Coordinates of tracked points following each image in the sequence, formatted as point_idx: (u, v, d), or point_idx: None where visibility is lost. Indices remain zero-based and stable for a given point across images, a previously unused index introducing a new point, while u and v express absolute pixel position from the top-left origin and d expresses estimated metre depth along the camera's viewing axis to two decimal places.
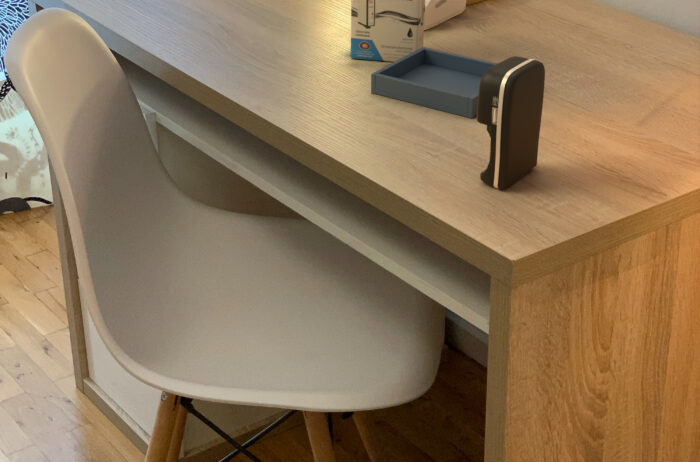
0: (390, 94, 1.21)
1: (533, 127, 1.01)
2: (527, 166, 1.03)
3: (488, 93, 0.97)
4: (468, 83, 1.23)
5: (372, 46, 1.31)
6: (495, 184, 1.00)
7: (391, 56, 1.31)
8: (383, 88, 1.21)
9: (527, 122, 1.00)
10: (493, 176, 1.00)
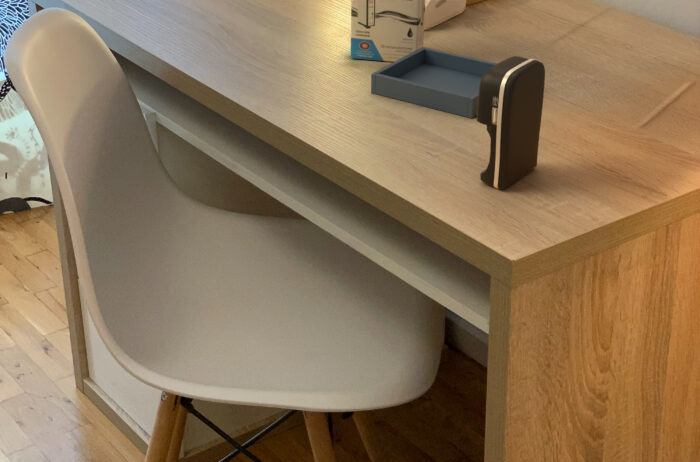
0: (390, 94, 1.21)
1: (533, 127, 1.01)
2: (527, 166, 1.03)
3: (488, 93, 0.97)
4: (468, 83, 1.23)
5: (372, 46, 1.31)
6: (495, 184, 1.00)
7: (391, 56, 1.31)
8: (383, 88, 1.21)
9: (527, 122, 1.00)
10: (493, 176, 1.00)
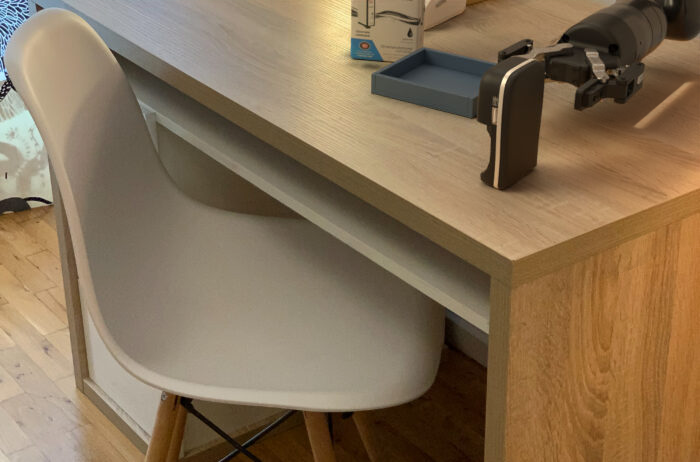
0: (390, 94, 1.21)
1: (533, 127, 1.01)
2: (527, 166, 1.03)
3: (488, 93, 0.97)
4: (468, 83, 1.23)
5: (373, 46, 1.31)
6: (495, 184, 1.00)
7: (391, 56, 1.31)
8: (383, 88, 1.21)
9: (527, 122, 1.00)
10: (493, 176, 1.00)
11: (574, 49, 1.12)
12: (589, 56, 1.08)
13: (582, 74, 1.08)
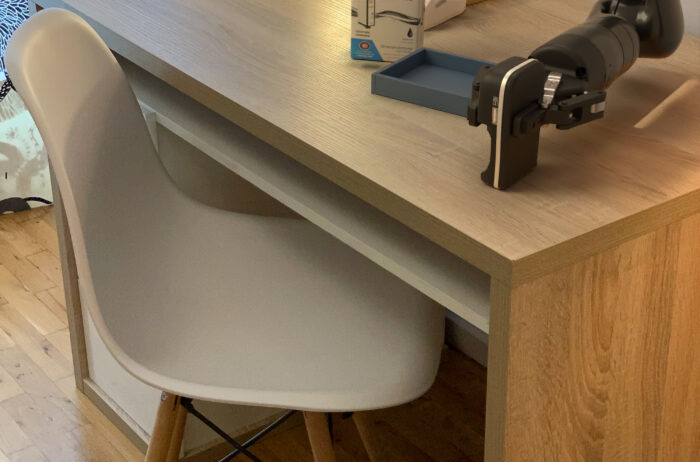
0: (390, 94, 1.21)
1: None
2: (527, 166, 1.03)
3: (489, 93, 0.97)
4: (468, 83, 1.23)
5: (373, 46, 1.31)
6: (495, 184, 1.00)
7: (391, 56, 1.31)
8: (383, 88, 1.21)
9: None
10: (493, 176, 1.00)
11: None
12: (549, 79, 1.03)
13: None
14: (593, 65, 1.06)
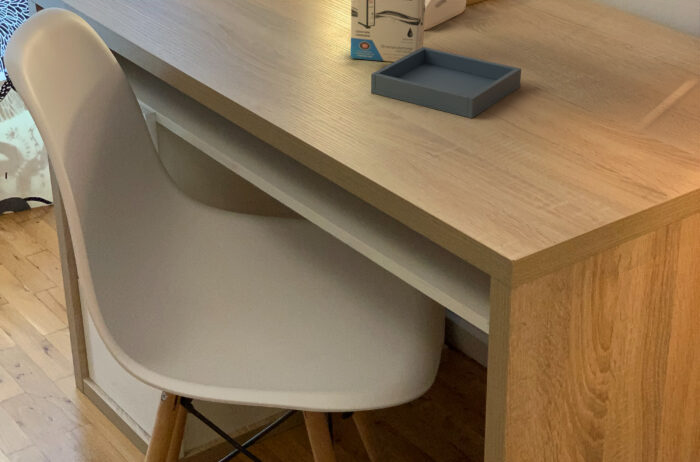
0: (390, 94, 1.21)
1: None
2: None
3: None
4: (468, 83, 1.23)
5: (373, 46, 1.31)
6: None
7: (391, 56, 1.31)
8: (383, 88, 1.21)
9: None
10: None
11: None
12: None
13: None
14: None
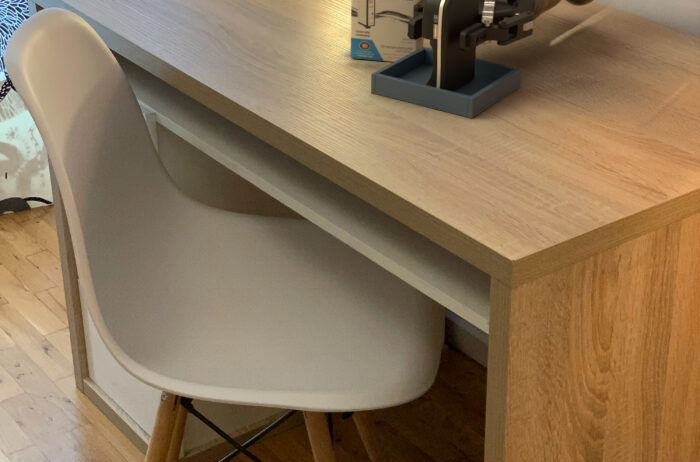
0: (390, 94, 1.21)
1: None
2: (465, 77, 1.22)
3: (430, 12, 1.16)
4: (468, 83, 1.23)
5: (373, 46, 1.31)
6: None
7: (391, 56, 1.31)
8: (383, 88, 1.21)
9: None
10: (436, 84, 1.20)
11: None
12: (486, 4, 1.22)
13: None
14: None
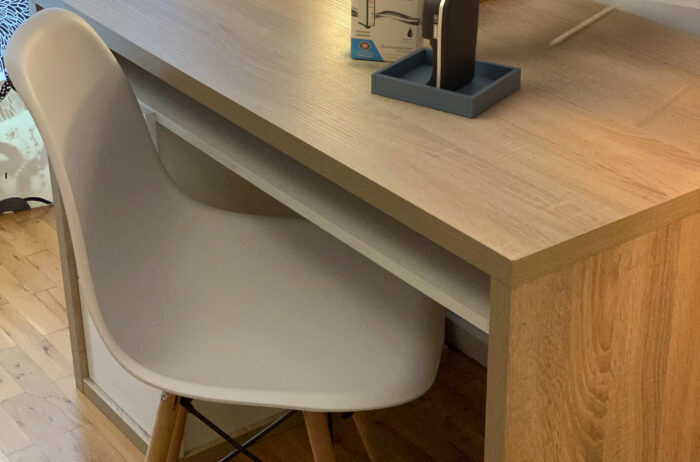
0: (390, 94, 1.21)
1: (470, 44, 1.21)
2: (465, 77, 1.22)
3: (430, 12, 1.16)
4: (468, 83, 1.23)
5: (373, 46, 1.31)
6: None
7: (391, 56, 1.31)
8: (383, 88, 1.21)
9: (464, 38, 1.19)
10: (436, 84, 1.20)
11: None
12: None
13: None
14: None
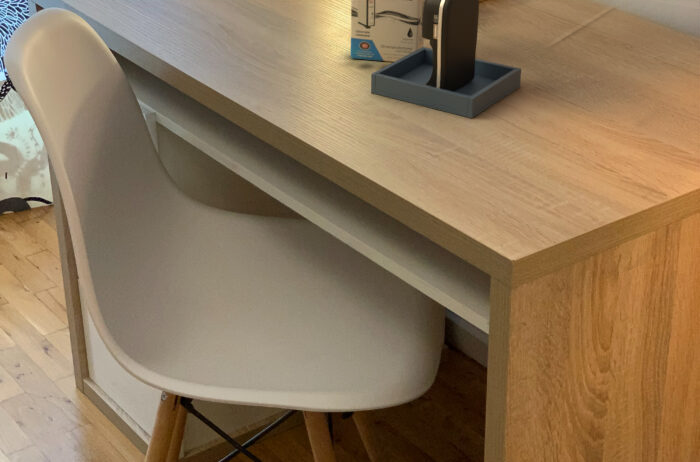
0: (390, 94, 1.21)
1: (470, 44, 1.21)
2: (465, 77, 1.22)
3: (430, 12, 1.16)
4: (468, 83, 1.23)
5: (373, 46, 1.31)
6: None
7: (391, 56, 1.31)
8: (383, 88, 1.21)
9: (464, 38, 1.19)
10: (436, 84, 1.20)
11: None
12: None
13: None
14: None
